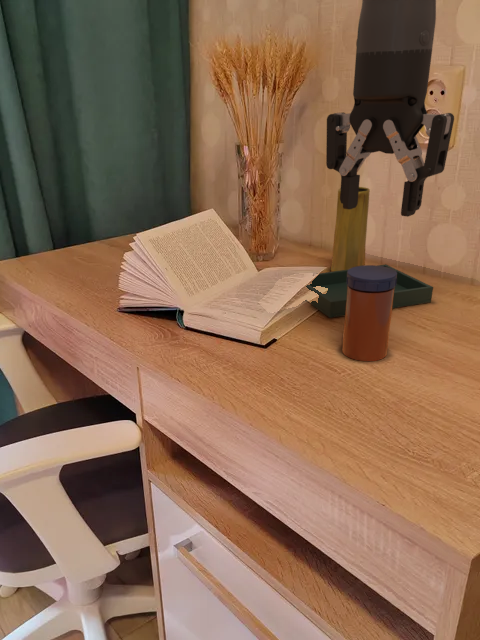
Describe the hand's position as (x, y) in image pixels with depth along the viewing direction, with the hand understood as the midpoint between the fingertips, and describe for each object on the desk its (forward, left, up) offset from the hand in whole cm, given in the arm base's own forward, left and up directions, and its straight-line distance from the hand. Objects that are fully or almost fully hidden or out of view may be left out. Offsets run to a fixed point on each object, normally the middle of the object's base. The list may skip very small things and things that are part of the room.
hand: (377, 211), depth 69 cm
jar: (0, 0, -18) cm, 18 cm away
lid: (0, 0, -8) cm, 8 cm away
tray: (-10, -19, -18) cm, 28 cm away
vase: (-15, -32, -18) cm, 40 cm away
